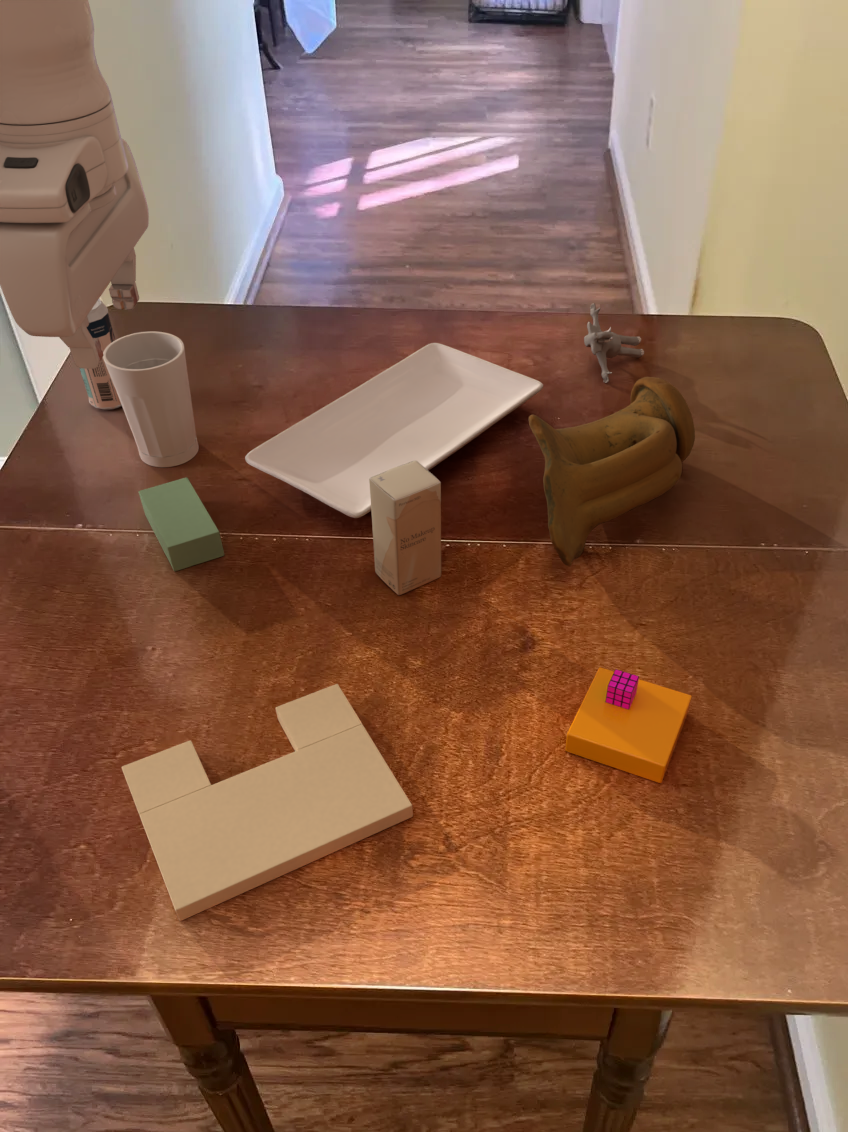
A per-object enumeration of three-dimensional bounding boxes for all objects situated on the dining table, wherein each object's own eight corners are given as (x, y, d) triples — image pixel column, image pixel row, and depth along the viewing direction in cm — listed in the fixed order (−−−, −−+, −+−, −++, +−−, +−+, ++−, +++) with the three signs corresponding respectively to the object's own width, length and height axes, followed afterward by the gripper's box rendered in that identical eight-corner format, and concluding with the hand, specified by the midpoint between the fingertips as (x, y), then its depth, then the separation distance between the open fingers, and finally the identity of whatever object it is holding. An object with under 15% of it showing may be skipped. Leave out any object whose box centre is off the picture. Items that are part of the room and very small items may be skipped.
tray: (243, 481, 104) (238, 453, 101) (434, 363, 121) (434, 337, 119) (360, 545, 97) (358, 516, 94) (546, 409, 114) (547, 383, 112)
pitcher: (449, 418, 99) (632, 336, 104) (484, 528, 106) (654, 447, 111) (531, 463, 84) (740, 366, 89) (566, 589, 91) (758, 492, 96)
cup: (118, 465, 106) (87, 364, 97) (152, 425, 111) (126, 327, 103) (186, 476, 104) (161, 375, 96) (218, 435, 110) (197, 336, 101)
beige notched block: (179, 921, 68) (175, 910, 67) (125, 778, 76) (121, 766, 75) (413, 816, 74) (412, 805, 73) (339, 695, 83) (337, 683, 82)
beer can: (141, 397, 115) (115, 300, 107) (111, 416, 112) (81, 318, 104) (111, 386, 117) (83, 290, 108) (81, 405, 114) (49, 307, 105)
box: (398, 597, 91) (391, 501, 83) (373, 572, 94) (365, 477, 86) (444, 575, 93) (442, 480, 86) (419, 551, 96) (415, 457, 88)
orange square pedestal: (688, 712, 82) (696, 678, 79) (661, 784, 76) (669, 750, 73) (596, 684, 84) (601, 649, 81) (564, 751, 79) (568, 717, 76)
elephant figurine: (662, 377, 120) (608, 371, 114) (628, 395, 125) (575, 390, 119) (647, 299, 121) (593, 290, 115) (614, 320, 125) (561, 312, 120)
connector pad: (224, 555, 95) (219, 531, 93) (174, 572, 94) (167, 547, 91) (193, 500, 101) (187, 476, 99) (145, 514, 100) (138, 490, 98)
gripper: (63, 100, 76) (110, 274, 85) (-49, 205, 61) (23, 400, 71) (144, 102, 75) (182, 276, 85) (51, 207, 61) (109, 402, 71)
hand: (109, 333), depth 78 cm, fingers open, 8 cm apart
